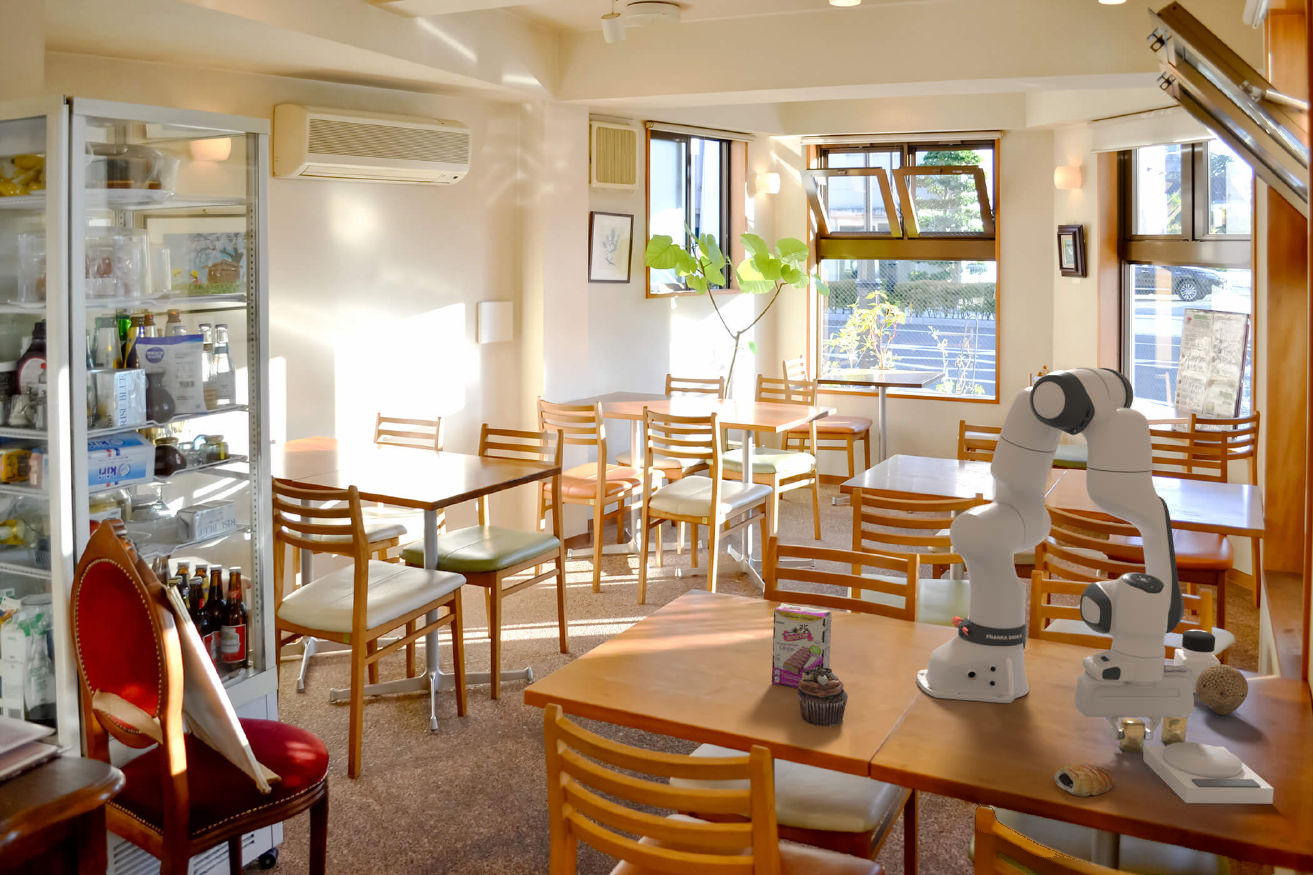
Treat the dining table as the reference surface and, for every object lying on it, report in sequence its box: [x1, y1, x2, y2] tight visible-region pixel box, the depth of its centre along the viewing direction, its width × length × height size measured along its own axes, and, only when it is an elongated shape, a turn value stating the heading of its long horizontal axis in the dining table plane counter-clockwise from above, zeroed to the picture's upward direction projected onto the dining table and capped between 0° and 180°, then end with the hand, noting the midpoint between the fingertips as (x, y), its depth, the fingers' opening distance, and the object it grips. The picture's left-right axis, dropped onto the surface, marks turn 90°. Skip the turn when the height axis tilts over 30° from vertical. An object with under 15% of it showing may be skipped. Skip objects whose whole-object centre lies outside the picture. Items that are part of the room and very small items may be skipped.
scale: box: [1142, 741, 1274, 805], centre depth 186 cm, size 14×16×4 cm
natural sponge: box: [1195, 664, 1249, 716], centre depth 214 cm, size 9×9×10 cm
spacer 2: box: [1160, 717, 1188, 746], centre depth 202 cm, size 4×4×5 cm
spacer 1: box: [1118, 717, 1146, 754], centre depth 199 cm, size 4×4×5 cm
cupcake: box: [796, 665, 849, 727], centre depth 212 cm, size 10×10×10 cm
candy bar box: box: [771, 603, 832, 689], centre depth 228 cm, size 11×5×16 cm, turn 65°
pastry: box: [1053, 763, 1114, 797], centre depth 184 cm, size 9×7×4 cm
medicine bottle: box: [1173, 629, 1222, 694], centre depth 228 cm, size 7×7×12 cm
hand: (1131, 738), depth 199 cm, fingers closed on spacer 1, 4 cm apart
